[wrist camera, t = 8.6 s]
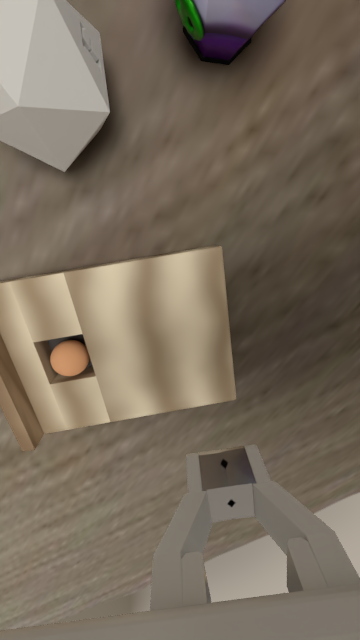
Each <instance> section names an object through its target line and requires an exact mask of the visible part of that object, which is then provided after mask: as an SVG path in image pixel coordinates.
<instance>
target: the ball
mask: <svg viewBox="0 0 360 640" xmlns="http://www.w3.org/2000/svg"><path fill="white" fill-rule="evenodd" d="M89 359H90V356H89V353H88V349H87V347H86V346H85V345H84V344H83V343H81V342H79V341H76V340H67V341H63V342H61V343H59V344H58V345H57V346H56V347H55V348H54V349H53V351H52V353H51V357H50V362H51V365H52V367H53V369H54V370H55V371H56V372H57V373H59V374H60V375H63V376H74V375H77V374H79V373H81V372H82V371H83V370H84V369H85V368H86V367H87V365H88V363H89Z"/></svg>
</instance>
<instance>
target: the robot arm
mask: <svg viewBox="0 0 360 640" xmlns="http://www.w3.org/2000/svg"><path fill="white" fill-rule="evenodd" d="M186 465H187V480H188V493H186V494H184V496H183V498H182V500H181V502H180V504H179V506H178V508H177V510H176V512H175V514H174V516H173V518H172V520H171V522H170V524H169V526H168V528H167V530H166V532H165V534H164V536H163V538H162V540H161V542H160V544H159V545H158V547H157V549H156V551H155V553H154V555H153V569H152V586H151V604H150V611H146V612H138V613H130V614H124V615H115V616H108V617H100V618H92V619H85V620H78V621H70V622H62V623H54V624H47V625H39V626H32V627H24V628H17V629H9V630H1V631H0V640H360V578H359V576H358V574H357V572H356V570H355V569H354V567H353V565H352V563H351V561H350V559H349V558H348V556H347V554H346V552H345V550H344V548H343V546H342V545H341V543H340V541H339V539H338V537H337V535H336V534H335V532H334V531H333V530H332V529H331V528H330V527H328V526H327V525H326V524H325V523H324V522H322V521H321V520H320V519H319V518H318V517H317V516H316V515H314V514H313V513H312V512H311V511H310V510H309V509H307V508H306V507H305V506H304V505H303V504H301V503H300V502H299V501H298V500H297V499H296V498H294V497H293V496H292V495H291V494H290V493H289V492H287V491H286V490H285V489H284V488H283V487H282V486H280V485H279V484H278V483H277V482H276V481H271V479H270V477H269V474H268V472H267V470H266V467H265V465H264V462H263V460H262V457H261V455H260V452H259V450H258V447H257V446H256V445H255V444H254V445H248V446H239V447H233V448H227V449H221V450H216V451H207V452H199V453H191V454H186ZM246 517H255V518H256V519H257V520H258V522H259V523H260V524H261V525H262V526H263V528H264V529H265V530H266V531H267V532H268V534H269V535H270V536H271V537H272V539H273V540H274V541H275V542H276V543H277V545H278V546H279V547H280V548H281V549H282V551H283V552H284V553H285V554H286V555H287V588H288V591H289V593H283V594H276V595H268V596H259V597H253V598H244V599H237V600H230V601H221V602H214V603H211V597H210V592H209V587H208V582H207V577H206V572H205V567H204V562H203V557H202V555H203V552H204V549H205V546H206V542H207V539H208V536H209V533H210V530H211V527H212V522H218V521H223V520H229V519H236V518H246Z"/></svg>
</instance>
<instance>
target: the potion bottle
mask: <svg viewBox="0 0 360 640" xmlns="http://www.w3.org/2000/svg"><path fill="white" fill-rule="evenodd" d="M285 1H286V0H175V3H176V7H177V11H178V13H179V15H180V18H181V21H182V23H183V32H184V34H185V35H186V37H187V39H188V40H189V42H190V44H191V45H192V47H193V48H194V50H195V52H196V53H197V55H198V56H199V58H200V60H201V61H205V62H212V63H219V64H226V65H229V64H230V63H231V62H232V61H233V60H234V59H235V58H236V57H237V56H238V55H239V54H240V53H241V52H242V51H243V50H244V49H245V48H246V47H247V46H248V45H249V44H250V43H251V37H252V36H253V35H254V33H255V32H256V31H257V30H258V29H259V28H260V27H261V26H262V25H263V23H264V22H265V21H266V20H267V19H269V18H270V17H271V16H272V15H273V14H274V13H275V12H276V11H277V10H278V9H279V8H280V7H281V6H282V5H283V4H284V2H285Z"/></svg>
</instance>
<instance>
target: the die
mask: <svg viewBox="0 0 360 640" xmlns="http://www.w3.org/2000/svg"><path fill="white" fill-rule="evenodd" d="M109 113H110V108H109V101H108V93H107V85H106V78H105V70H104V63H103V55H102V47H101V40H100V33H99V32H98V31H97V30H96V29H95V28H94V27H93V26H92V25H91V24H90V23H89V22H88V21H87V20H86V19H85V18H84V17H83V16H82V15H81V14H80V13H79V12H78V11H76V10H75V9H74V8H73V7H72V6H71V5H70V4H69V3H68V2H67V1H66V0H0V141H2V142H4V143H6V144H8V145H10V146H12V147H14V148H16V149H18V150H20V151H23V152H25V153H27V154H29V155H31V156H33V157H35V158H37V159H39V160H41V161H43V162H45V163H47V164H49V165H51V166H53V167H55V168H57V169H59V170H61V171H63V172H65V171H66V170H67V169H68V167H69V166H70V165H71V164H72V163H73V161H74V160H75V159H76V158H77V157H78V155H79V154H80V153H81V152H82V151H83V150H84V148H85V147H86V146H87V145H88V144H89V142H90V141H91V140H92V139H93V138H94V137H95V135H96V134H97V133H98V132H99V131H100V129H101V127H102V126H103V124H104V122H105V120H106V118H107V117H108V115H109Z"/></svg>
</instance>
